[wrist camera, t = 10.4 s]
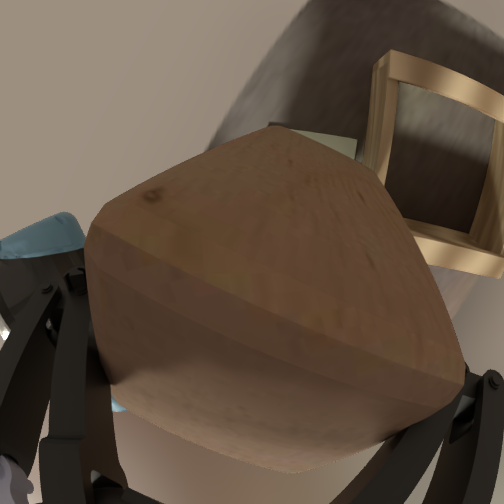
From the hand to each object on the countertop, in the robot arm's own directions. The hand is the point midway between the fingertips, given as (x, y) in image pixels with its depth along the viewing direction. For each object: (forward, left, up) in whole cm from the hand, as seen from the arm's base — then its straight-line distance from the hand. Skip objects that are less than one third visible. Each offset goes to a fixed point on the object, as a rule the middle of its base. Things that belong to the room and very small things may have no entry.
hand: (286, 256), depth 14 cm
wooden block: (0, 0, -11) cm, 11 cm away
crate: (+15, +5, -19) cm, 24 cm away
